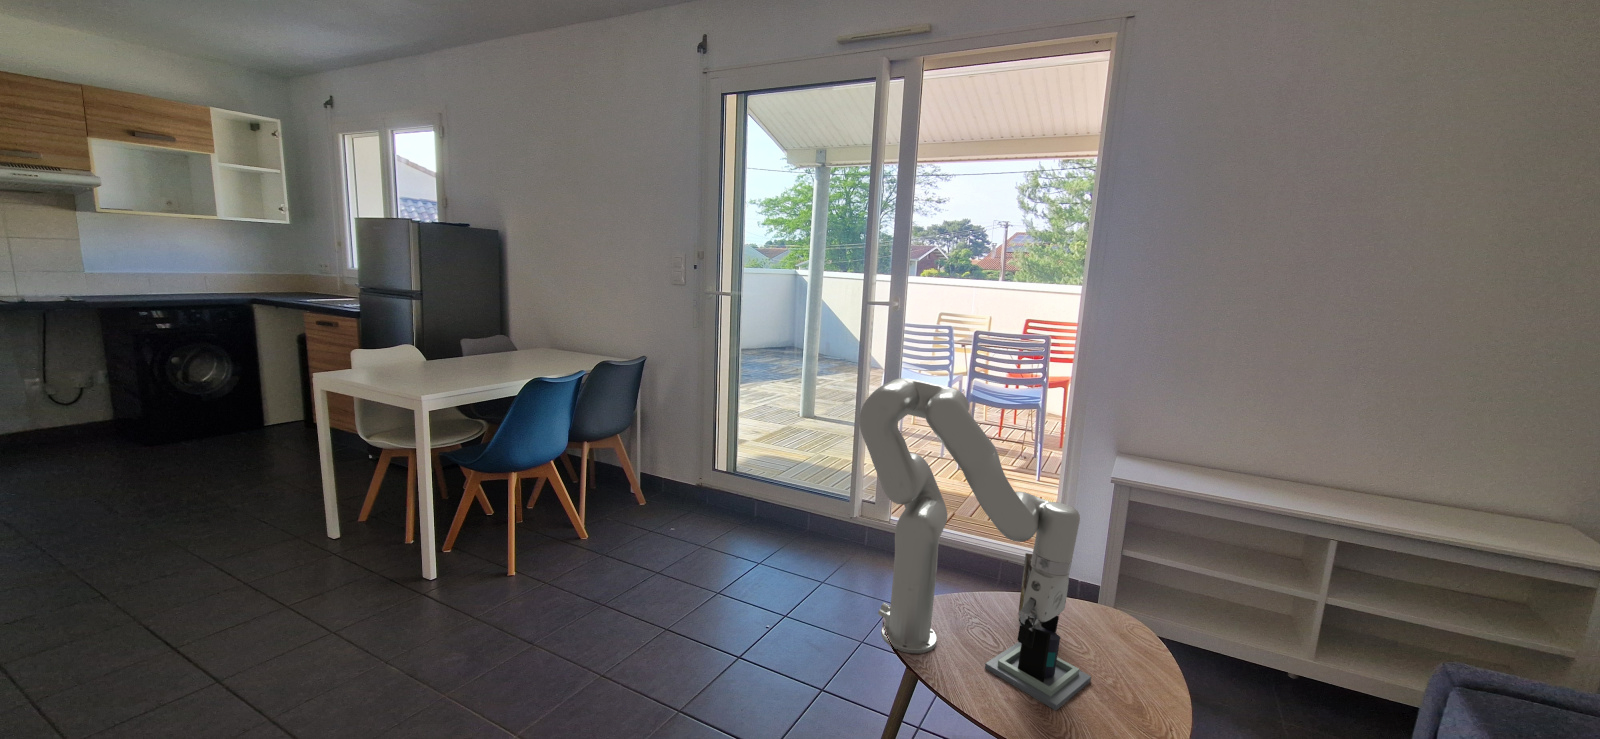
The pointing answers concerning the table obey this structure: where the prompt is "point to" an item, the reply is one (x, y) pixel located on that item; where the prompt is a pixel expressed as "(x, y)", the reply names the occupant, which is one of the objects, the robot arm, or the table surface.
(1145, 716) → the table surface
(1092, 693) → the table surface
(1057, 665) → the dock
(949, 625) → the table surface
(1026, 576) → the coffee box
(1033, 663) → the speaker
